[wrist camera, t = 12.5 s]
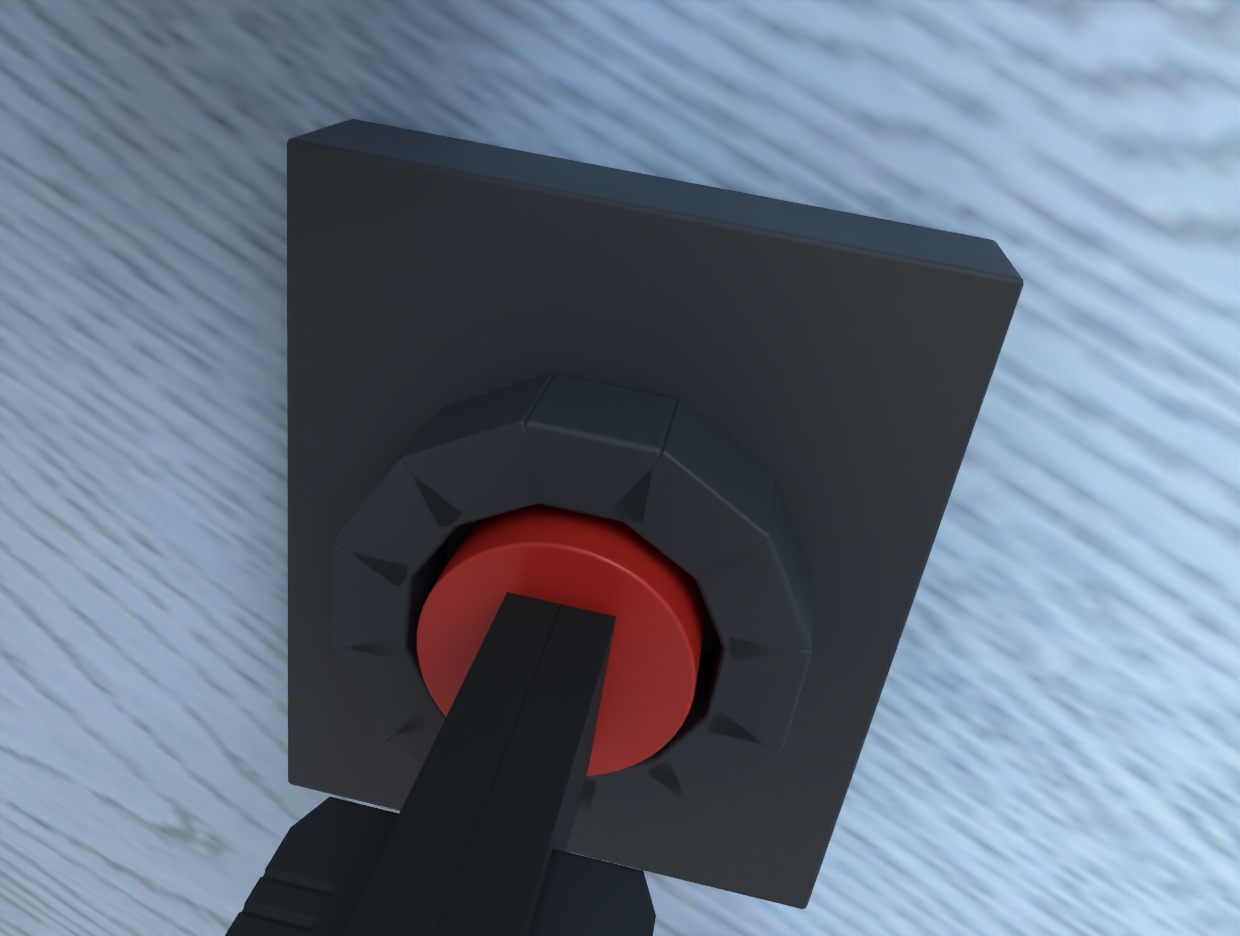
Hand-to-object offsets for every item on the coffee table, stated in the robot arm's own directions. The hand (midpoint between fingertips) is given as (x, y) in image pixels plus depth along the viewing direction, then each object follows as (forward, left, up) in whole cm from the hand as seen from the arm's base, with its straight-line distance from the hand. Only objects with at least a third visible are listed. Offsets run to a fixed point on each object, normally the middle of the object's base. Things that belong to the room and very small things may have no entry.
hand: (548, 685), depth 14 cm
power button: (0, 0, -2) cm, 2 cm away
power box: (0, 0, -5) cm, 5 cm away
